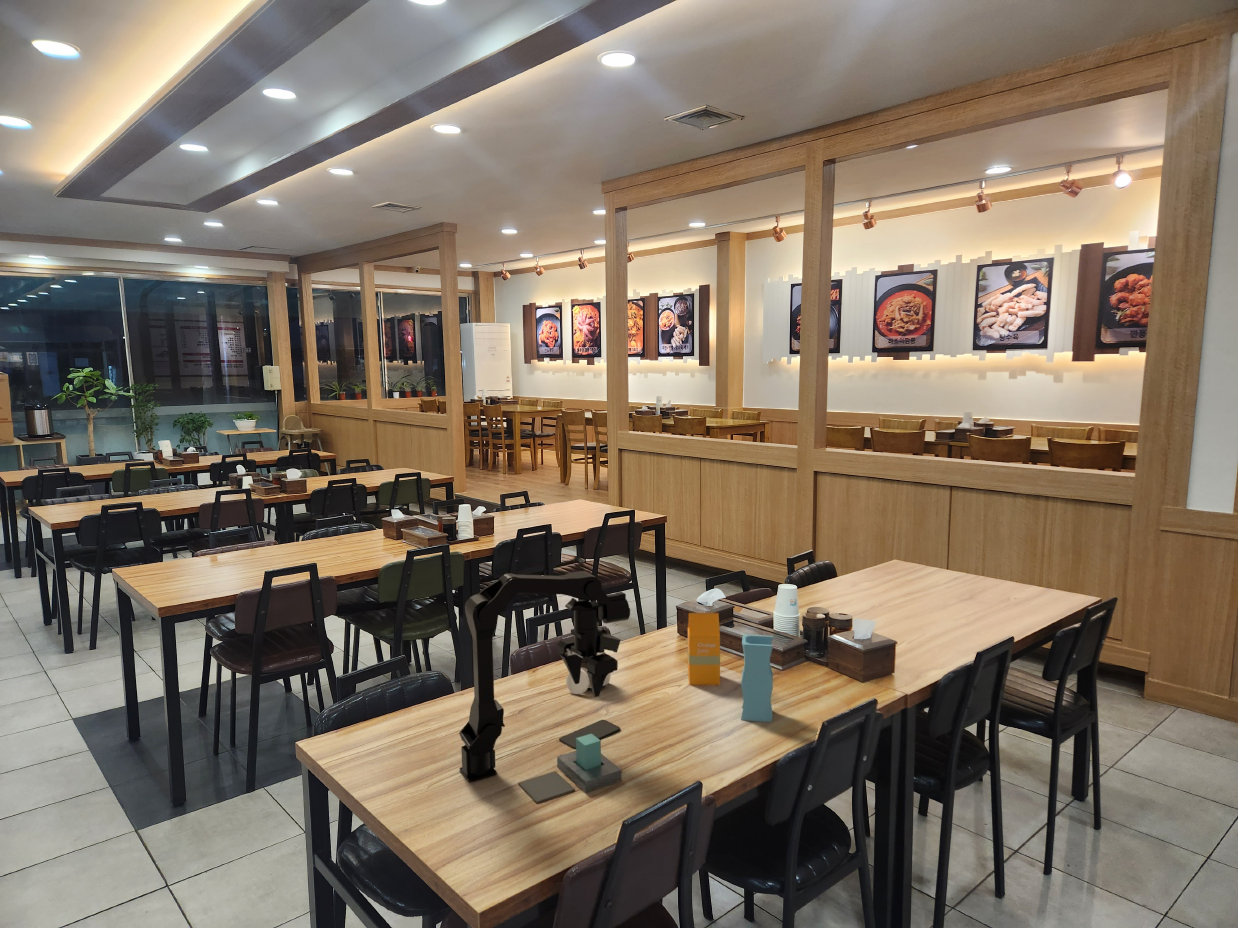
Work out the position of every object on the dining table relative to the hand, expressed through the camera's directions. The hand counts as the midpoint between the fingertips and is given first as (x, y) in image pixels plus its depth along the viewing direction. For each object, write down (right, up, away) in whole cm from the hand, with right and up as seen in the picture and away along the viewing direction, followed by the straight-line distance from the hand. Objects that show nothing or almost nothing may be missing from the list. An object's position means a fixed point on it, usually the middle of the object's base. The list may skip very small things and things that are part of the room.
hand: (586, 689), depth 179 cm
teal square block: (+1, -15, -11) cm, 19 cm away
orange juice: (+32, -10, +41) cm, 53 cm away
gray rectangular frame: (+1, -15, -11) cm, 19 cm away
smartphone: (0, -14, +7) cm, 15 cm away
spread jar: (-1, -10, +35) cm, 37 cm away
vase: (+44, -12, +17) cm, 48 cm away
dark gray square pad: (-8, -16, -17) cm, 25 cm away
